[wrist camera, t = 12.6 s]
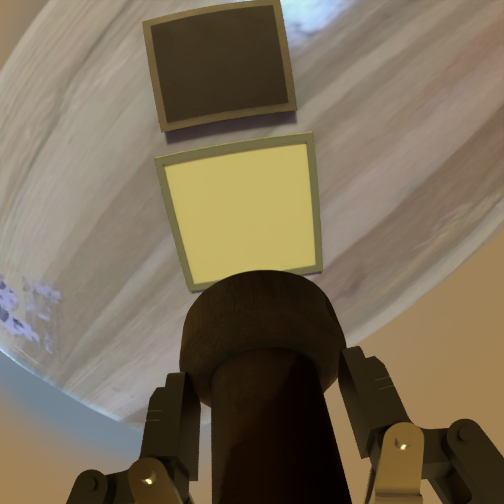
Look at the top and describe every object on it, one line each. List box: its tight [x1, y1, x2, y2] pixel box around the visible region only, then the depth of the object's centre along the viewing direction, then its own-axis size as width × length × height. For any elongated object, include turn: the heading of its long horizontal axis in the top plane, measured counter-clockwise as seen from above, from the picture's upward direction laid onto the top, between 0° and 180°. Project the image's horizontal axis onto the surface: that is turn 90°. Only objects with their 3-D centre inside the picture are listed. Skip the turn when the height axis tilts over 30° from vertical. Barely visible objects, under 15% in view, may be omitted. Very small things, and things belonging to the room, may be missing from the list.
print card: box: [154, 132, 323, 291], centre depth 26 cm, size 12×12×1 cm
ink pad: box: [142, 0, 297, 133], centre depth 20 cm, size 10×9×1 cm
